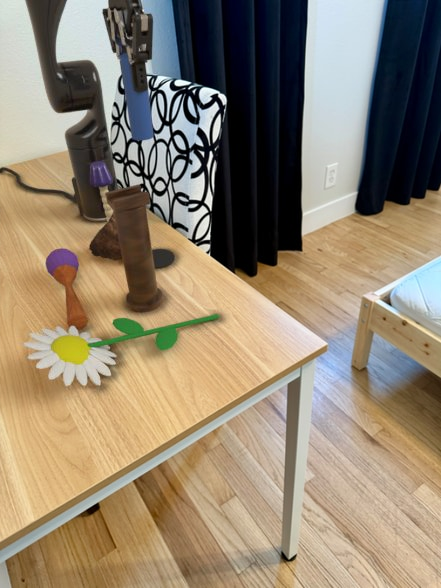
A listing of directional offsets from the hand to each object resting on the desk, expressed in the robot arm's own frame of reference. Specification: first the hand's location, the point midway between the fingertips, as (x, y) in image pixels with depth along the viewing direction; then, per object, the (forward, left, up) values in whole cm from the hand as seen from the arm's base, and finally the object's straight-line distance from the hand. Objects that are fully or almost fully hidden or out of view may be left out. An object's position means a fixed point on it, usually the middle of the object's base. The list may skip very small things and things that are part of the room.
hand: (135, 88), depth 66 cm
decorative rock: (-9, +1, -33) cm, 34 cm away
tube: (0, 0, -1) cm, 1 cm away
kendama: (-11, -14, -33) cm, 38 cm away
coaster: (-1, +2, -33) cm, 33 cm away
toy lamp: (-15, +8, -33) cm, 37 cm away
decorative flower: (+6, -23, -33) cm, 41 cm away
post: (+3, -11, -33) cm, 35 cm away
